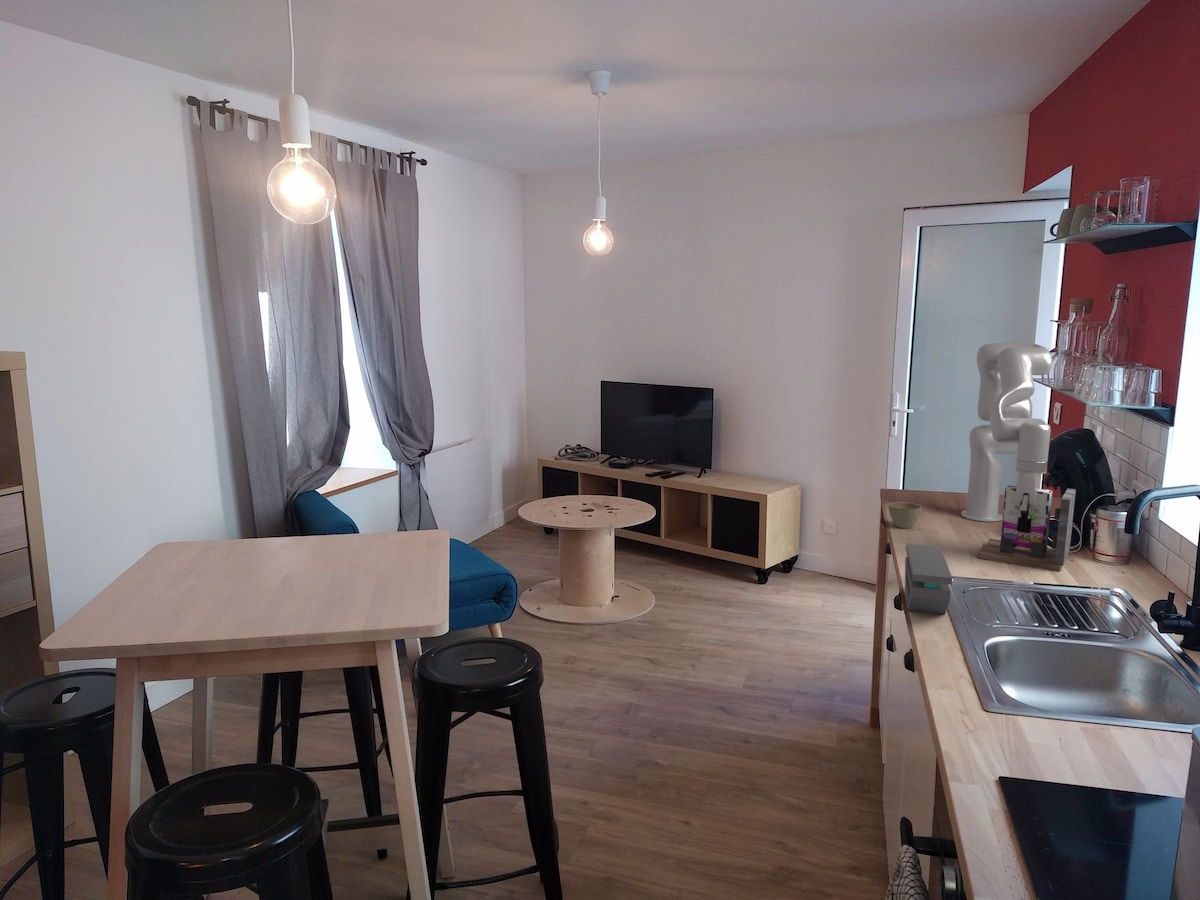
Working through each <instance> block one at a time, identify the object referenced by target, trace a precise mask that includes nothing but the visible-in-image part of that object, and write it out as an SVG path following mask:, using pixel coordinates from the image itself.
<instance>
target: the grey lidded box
mask: <svg viewBox="0 0 1200 900" xmlns="http://www.w3.org/2000/svg"><path fill="white" fill-rule="evenodd" d="M905 544H906V545H905V550H906V551H905V552H906V556H907V557H905V561H904V563H905V564H904V596H905V599H906V600H905V601H906V605H907V606H906V607H907V611H911V612H912V611H913V612H923V613H930V614H939V615H946V613H947V610H948V607H949V604H950V601H951V588H950V586H952V585H953V576H952V574H951V571H950V568H949V566H948V563H947V561H946V560H947V559H946V558H945V555H944V553H943V550H942V547H941V545H932V544H920V543H905Z"/></svg>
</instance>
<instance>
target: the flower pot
mask: <svg viewBox="0 0 1200 900" xmlns="http://www.w3.org/2000/svg"><path fill="white" fill-rule="evenodd" d="M922 508H923V506H922V505H920V504H917V503H913V502H903V501H898V502H897V501H895V502H889V503H888V510H889V514H890V517H891V520H892V522H893V524H894V526H895V527H896V526H897V527H896V528H898V527H900V528H899V529H903V528H910V529H912V528H914V526H915V525H916V523H917V522H918V520H919V518H920V515H921V512H922Z"/></svg>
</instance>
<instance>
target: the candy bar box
mask: <svg viewBox="0 0 1200 900" xmlns="http://www.w3.org/2000/svg"><path fill="white" fill-rule="evenodd" d="M1016 488H1017V485H1008V486H1006V487H1005V488H1004V500H1003V512H1002V516H1003V518H1002V522H1001V523H1002V525H1001V535H1000V538H1001V537H1002V538H1009V539H1013V545H1014V546H1020V547H1026V548H1031V543H1032V542H1035V543H1042V544H1044V550H1045V548H1047V547H1048V545H1049V533H1050V524H1051V523H1050V522H1051V511H1052V510H1051V509H1052V499H1053V490H1052V489H1043V488H1040V490H1039V491H1038V492H1037V499H1036V504H1035V507H1034V508H1033V509H1032V510H1031V518H1030V519H1032V520H1031V530H1030V533H1024V532H1018V531H1017V526H1018V517H1019V512H1020V505H1021V503H1020V505H1019V506H1017V507H1015V506H1014V503H1015V496H1016ZM1027 507H1028V508H1030V506H1028V505H1027ZM1027 511H1028V512H1029V510H1027Z"/></svg>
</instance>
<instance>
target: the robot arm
mask: <svg viewBox="0 0 1200 900" xmlns="http://www.w3.org/2000/svg"><path fill="white" fill-rule="evenodd" d="M976 364H977V368H978V373H979V376H980V377H979V378H980V380H979V381H980V382H979V384H980V385H979V394H978V400H977V401H978V402H977V416H978V418H979V419H980V420H982V421H984V422H989V424H981V425H980V424H979V425H977V426H974V427H973V428H972V429H971V431H970V433H969V439H968V440H969V447H970V448H969V449H970V461H969V462H970V463H969V475H968V476H969V479H968V489H967V500H966V509H964V510H962V511H961V512H960V515H961V517H963V518H965V519H968V520H972V521H976V522H986V523H987V522H993V523H994V522H1000V521H1003V514H1001V513H999V501H1000V493H1001V492H1000V491H1001V479H1002V465H1001V463H1000V462H999V461H998V459H997V458H996V457H995V455H1016V462H1015V472H1018V476H1017V481H1016V482H1017V483H1016V486H1017V488H1016V496H1015V503H1014V506H1015V507H1017V506H1019V505H1020V503H1021V505H1020V512H1019V517H1018V526H1017V531H1018V532H1024V533H1030V530H1031V520H1032V519H1030V518H1031V510H1032V509H1033V508H1034V507H1035V504H1036V499H1037V492H1038V491H1039V490H1040V489H1041V483H1042V482H1041V481H1042V475H1044V474H1047V470H1048V460H1049V449H1050V440H1051V432H1052V431H1051V426H1050V424H1048V423H1046V422H1045V420H1043V419H1041V418H1032V417H1033V403H1032V400H1031V399H1032V398H1031V397H1032V396H1033V395H1034V393H1035V391H1036V387H1035V382H1034V377H1033V376H1046V375H1048V374H1049V373H1050V371H1051V370H1052V367H1053V357H1052V354H1051V352H1050V350H1049V349H1048V348H1047V347H1045V346H1042V345H1040V344H1037V343H1026V342H1025V343H1024V342H1023V343H1020V342H1017V343H1013V342H1012V343H1011V342H1010V343H1009V342H996V343H995V342H994V343H992V342H991V343H986V344H983V345H982V346H980V347H979V348H978V350H977V354H976ZM1027 505H1028V506H1030V508H1028V507H1027ZM1027 510H1029V512H1028V511H1027Z"/></svg>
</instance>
